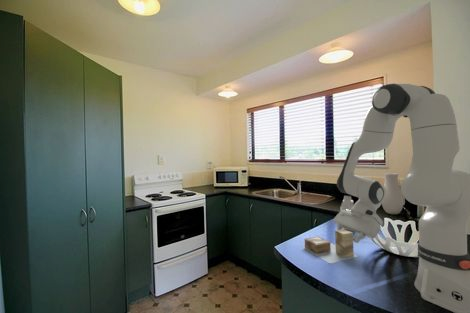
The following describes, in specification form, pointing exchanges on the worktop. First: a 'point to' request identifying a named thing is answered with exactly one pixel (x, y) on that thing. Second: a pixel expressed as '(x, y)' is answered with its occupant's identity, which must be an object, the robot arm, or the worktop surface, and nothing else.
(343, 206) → the grey statuette
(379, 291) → the worktop surface
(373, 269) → the worktop surface
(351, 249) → the birch column
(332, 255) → the pale flat sheet
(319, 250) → the walnut plinth
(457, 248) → the robot arm
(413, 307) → the worktop surface
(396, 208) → the vase
